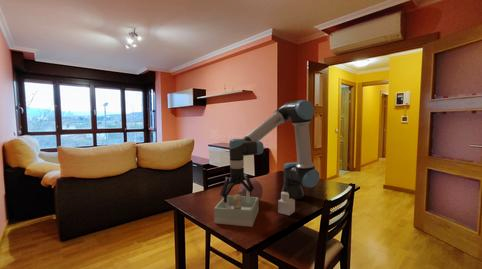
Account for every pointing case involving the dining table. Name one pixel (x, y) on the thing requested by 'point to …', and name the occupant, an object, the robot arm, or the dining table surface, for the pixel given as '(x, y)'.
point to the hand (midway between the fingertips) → (237, 205)
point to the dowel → (237, 201)
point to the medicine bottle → (286, 203)
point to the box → (237, 212)
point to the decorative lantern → (255, 193)
